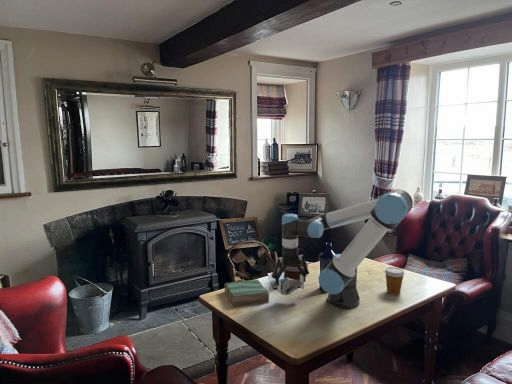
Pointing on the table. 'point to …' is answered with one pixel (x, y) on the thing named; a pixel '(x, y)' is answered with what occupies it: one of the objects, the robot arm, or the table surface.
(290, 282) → the mineral specimen
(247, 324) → the table surface
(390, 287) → the disposable coffee cup
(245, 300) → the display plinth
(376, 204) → the robot arm
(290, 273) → the flowerpot
